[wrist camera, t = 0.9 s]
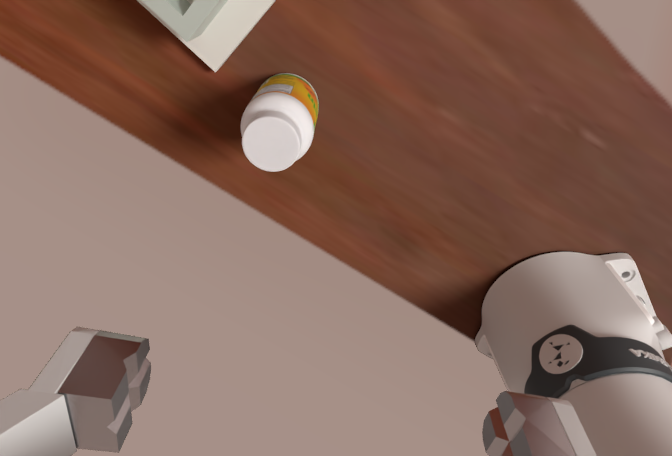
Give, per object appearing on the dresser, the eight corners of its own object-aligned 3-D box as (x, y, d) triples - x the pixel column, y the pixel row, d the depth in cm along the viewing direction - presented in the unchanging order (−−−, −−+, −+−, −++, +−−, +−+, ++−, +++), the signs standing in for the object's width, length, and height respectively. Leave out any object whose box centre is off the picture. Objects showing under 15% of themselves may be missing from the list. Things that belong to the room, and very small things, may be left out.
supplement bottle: (321, 132, 40) (314, 179, 31) (262, 135, 40) (239, 183, 32) (316, 69, 37) (306, 103, 28) (252, 73, 37) (223, 108, 29)
